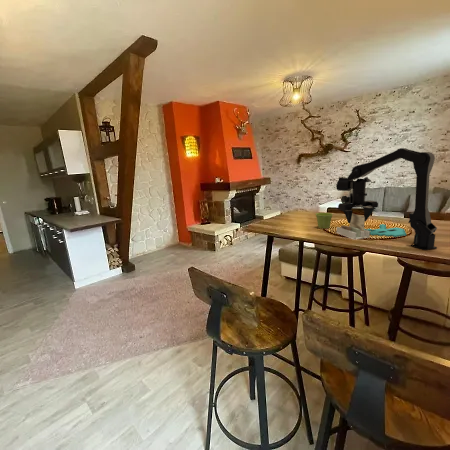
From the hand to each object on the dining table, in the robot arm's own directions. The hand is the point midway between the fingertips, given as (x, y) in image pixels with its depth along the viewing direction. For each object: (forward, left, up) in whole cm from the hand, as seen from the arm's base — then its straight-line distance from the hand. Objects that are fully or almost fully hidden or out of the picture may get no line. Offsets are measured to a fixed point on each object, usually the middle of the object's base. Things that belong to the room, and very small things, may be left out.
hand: (357, 222), depth 129 cm
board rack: (0, +3, -7) cm, 8 cm away
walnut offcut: (+2, +5, -6) cm, 8 cm away
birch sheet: (0, 0, -6) cm, 6 cm away
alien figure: (-1, -15, -8) cm, 17 cm away
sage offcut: (-2, +3, -6) cm, 7 cm away
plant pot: (+20, +6, -8) cm, 22 cm away
